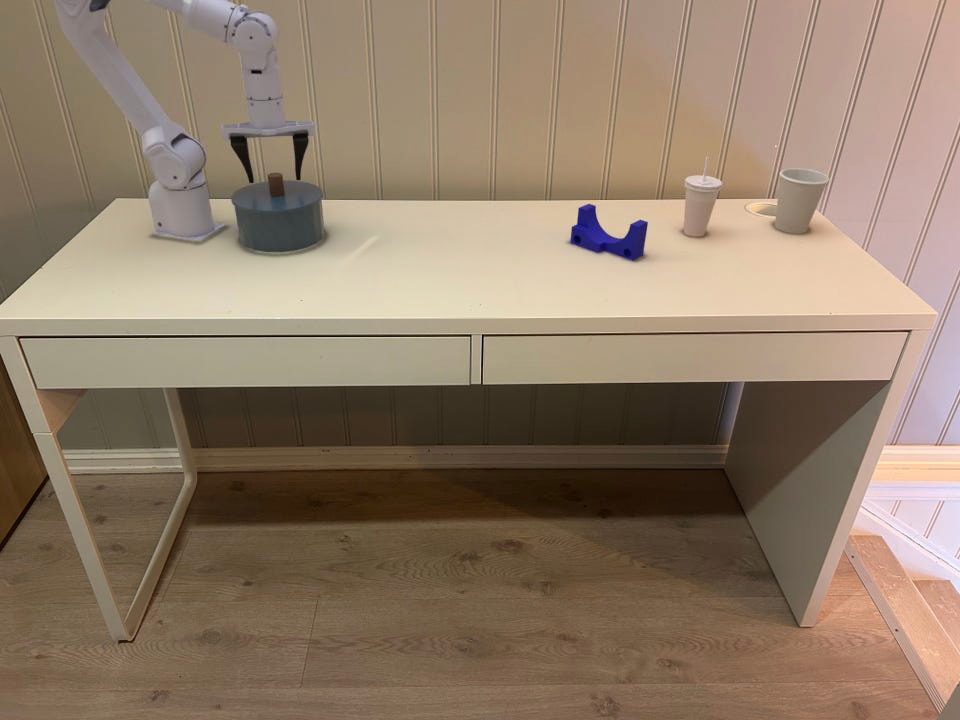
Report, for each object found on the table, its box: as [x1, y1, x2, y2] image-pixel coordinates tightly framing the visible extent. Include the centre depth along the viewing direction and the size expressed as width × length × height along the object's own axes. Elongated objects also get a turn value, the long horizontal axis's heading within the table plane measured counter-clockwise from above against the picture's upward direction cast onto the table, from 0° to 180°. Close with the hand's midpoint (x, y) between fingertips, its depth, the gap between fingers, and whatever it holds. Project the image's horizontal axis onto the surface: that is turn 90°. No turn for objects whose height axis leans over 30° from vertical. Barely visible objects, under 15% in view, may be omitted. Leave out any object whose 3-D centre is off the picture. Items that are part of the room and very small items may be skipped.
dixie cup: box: [774, 167, 830, 234], centre depth 133 cm, size 8×8×10 cm
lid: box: [230, 172, 324, 213], centre depth 122 cm, size 15×15×4 cm
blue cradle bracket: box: [569, 203, 649, 261], centre depth 124 cm, size 12×4×6 cm, turn 47°
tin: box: [234, 199, 326, 253], centre depth 125 cm, size 14×14×7 cm
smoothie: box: [683, 156, 723, 238], centre depth 129 cm, size 6×6×14 cm
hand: (275, 179), depth 124 cm, fingers open, 7 cm apart
